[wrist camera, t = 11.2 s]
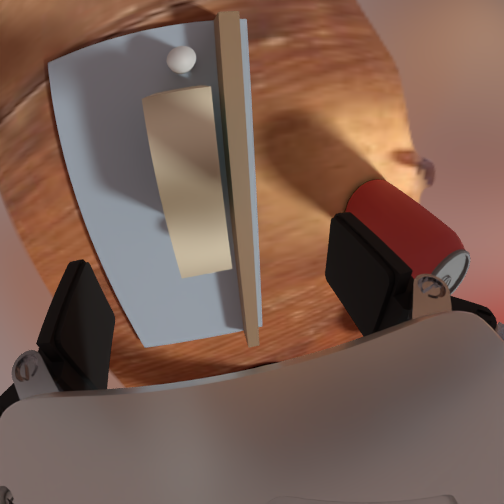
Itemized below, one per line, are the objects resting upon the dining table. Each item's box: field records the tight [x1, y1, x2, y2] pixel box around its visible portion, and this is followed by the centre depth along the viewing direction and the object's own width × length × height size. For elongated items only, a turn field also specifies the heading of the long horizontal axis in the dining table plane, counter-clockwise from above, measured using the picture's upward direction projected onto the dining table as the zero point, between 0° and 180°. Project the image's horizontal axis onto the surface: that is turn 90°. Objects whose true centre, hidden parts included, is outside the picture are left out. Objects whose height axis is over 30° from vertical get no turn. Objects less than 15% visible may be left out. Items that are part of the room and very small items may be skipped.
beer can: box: [345, 179, 470, 295], centre depth 21 cm, size 7×7×12 cm
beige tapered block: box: [142, 85, 232, 279], centre depth 16 cm, size 10×3×7 cm, turn 4°
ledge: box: [48, 11, 262, 348], centre depth 20 cm, size 30×14×4 cm, turn 3°
